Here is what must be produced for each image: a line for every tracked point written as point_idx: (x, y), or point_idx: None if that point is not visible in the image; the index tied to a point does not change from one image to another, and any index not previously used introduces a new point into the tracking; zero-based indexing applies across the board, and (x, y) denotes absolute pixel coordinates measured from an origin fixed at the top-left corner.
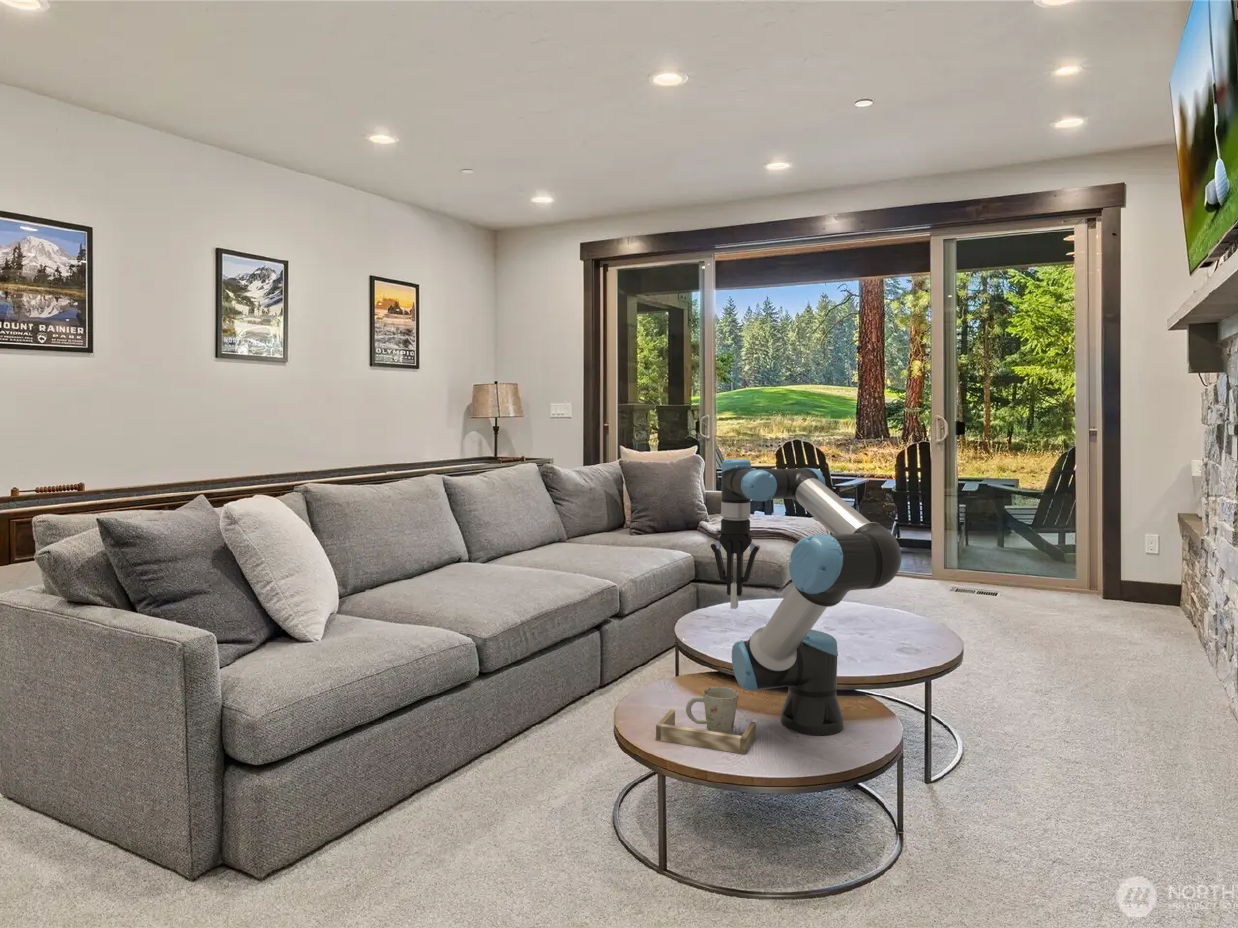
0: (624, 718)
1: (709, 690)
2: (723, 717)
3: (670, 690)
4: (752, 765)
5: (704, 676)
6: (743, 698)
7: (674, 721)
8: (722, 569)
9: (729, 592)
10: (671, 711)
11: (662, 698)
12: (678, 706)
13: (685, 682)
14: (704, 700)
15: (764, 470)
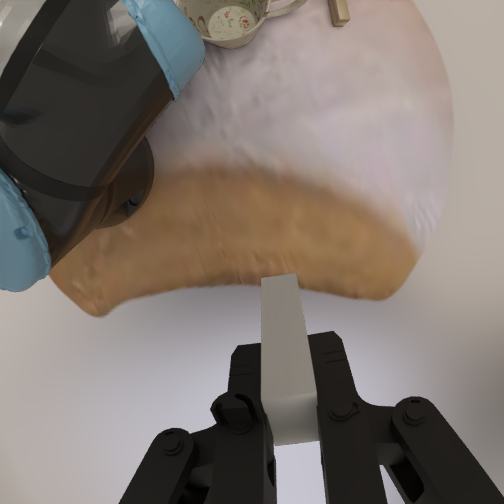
0: (424, 24)
1: (263, 14)
2: None
3: (412, 198)
4: None
5: (373, 299)
6: (264, 225)
7: (333, 21)
8: (437, 489)
9: (321, 344)
10: (343, 10)
11: (411, 148)
12: (368, 118)
13: (398, 253)
14: None
15: None
